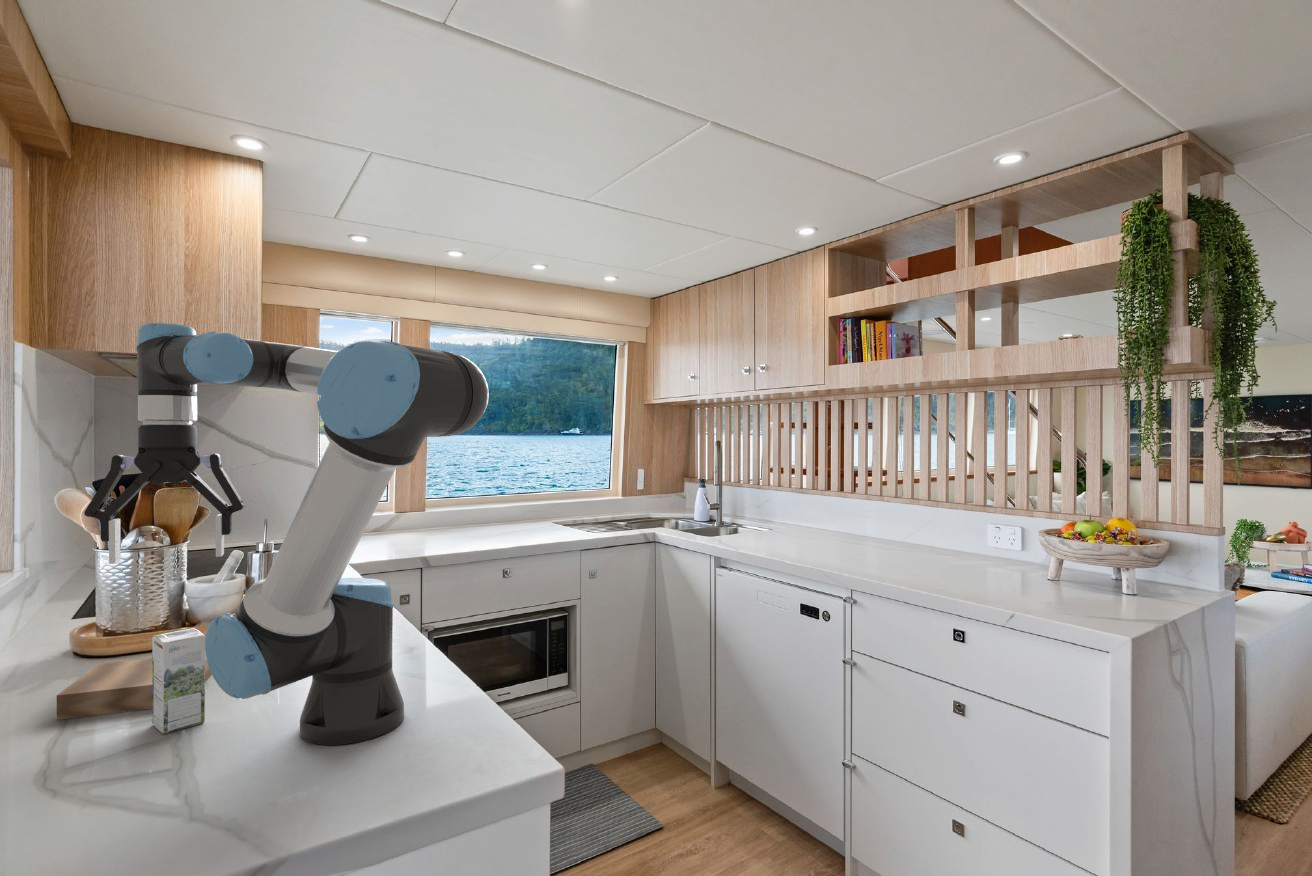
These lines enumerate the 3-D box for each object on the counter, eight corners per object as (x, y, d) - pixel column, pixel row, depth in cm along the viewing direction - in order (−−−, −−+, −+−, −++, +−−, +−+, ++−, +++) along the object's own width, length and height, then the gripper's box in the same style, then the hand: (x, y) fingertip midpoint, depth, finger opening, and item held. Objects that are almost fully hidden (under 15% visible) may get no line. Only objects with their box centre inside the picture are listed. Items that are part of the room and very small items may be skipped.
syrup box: (193, 713, 111) (193, 626, 111) (206, 723, 107) (205, 632, 107) (151, 725, 107) (151, 634, 107) (163, 735, 103) (162, 641, 103)
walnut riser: (212, 672, 130) (212, 652, 130) (188, 703, 115) (188, 680, 115) (98, 685, 124) (98, 663, 124) (56, 720, 109) (56, 695, 109)
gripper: (262, 424, 114) (262, 549, 114) (75, 423, 103) (76, 561, 104) (257, 423, 107) (257, 556, 107) (57, 422, 97) (57, 569, 97)
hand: (168, 559), depth 106 cm, fingers open, 13 cm apart
